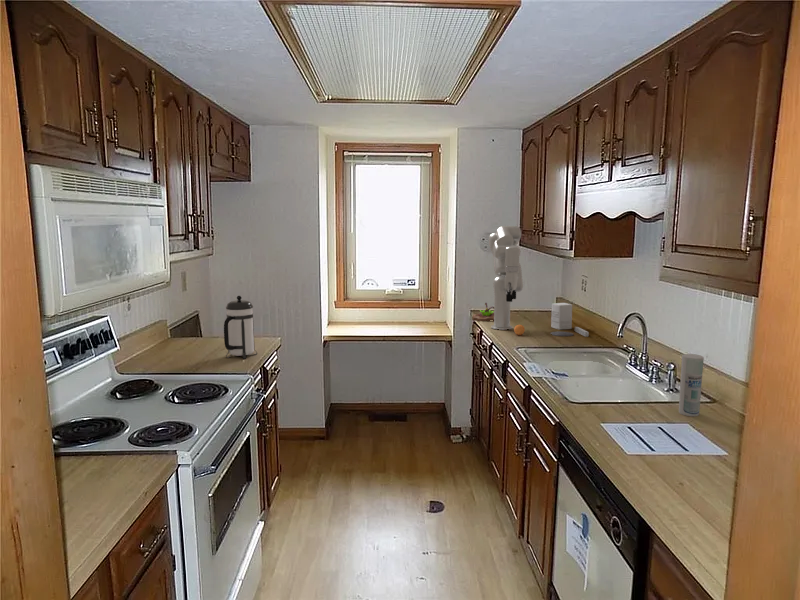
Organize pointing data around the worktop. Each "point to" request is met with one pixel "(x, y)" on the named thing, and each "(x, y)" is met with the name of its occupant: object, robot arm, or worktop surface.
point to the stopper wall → (581, 331)
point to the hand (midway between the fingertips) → (511, 300)
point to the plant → (484, 315)
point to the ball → (519, 329)
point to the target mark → (562, 333)
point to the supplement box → (561, 316)
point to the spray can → (690, 384)
